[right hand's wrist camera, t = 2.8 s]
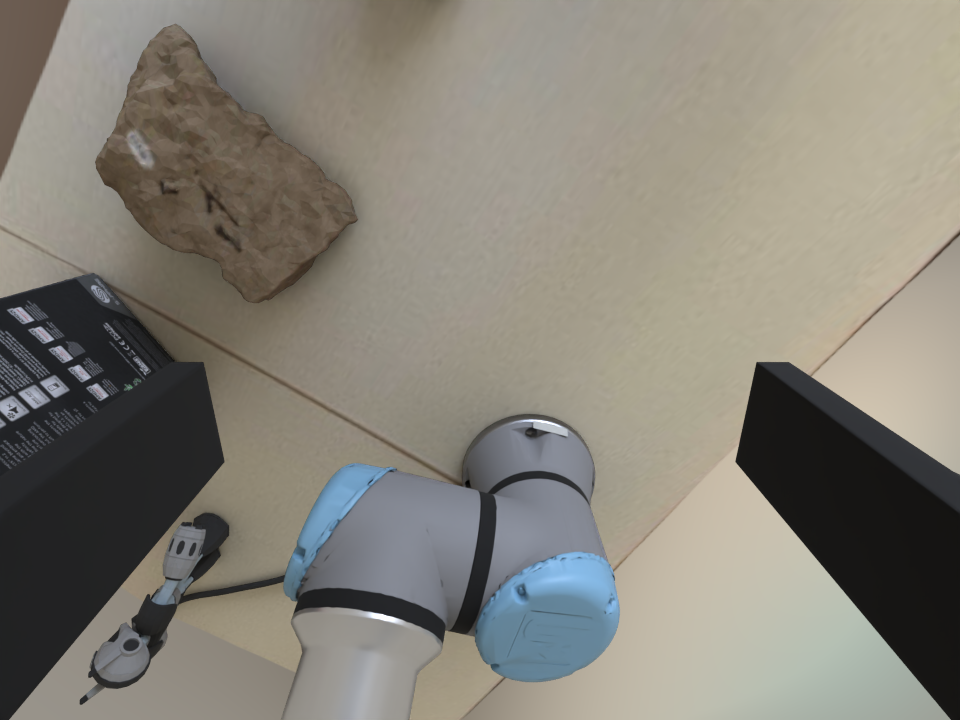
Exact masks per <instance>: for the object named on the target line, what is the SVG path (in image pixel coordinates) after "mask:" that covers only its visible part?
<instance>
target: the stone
mask: <svg viewBox="0 0 960 720" xmlns="http://www.w3.org/2000/svg"><path fill="white" fill-rule="evenodd" d="M95 163H96V169H97V171H98V173H99V174H100V176H101V178H102V180H103V182H104V184H105V185H107V186H109V187H111V188H113V189H114V190H115V191H117V192H118V194H119V195H120V197H121V198H122V199H123V201H124V203H125V206H126V208H127V209H128V210H129V211H130V212H131V214H132V215H133V217H134V218H135V220H136V221H137V222H138V223H139V224H140V225H141V226H142V227H143V229H145V230H146V231H147V232H148V233H149V234H150V235H151V236H152V237H154V238H155V239H156V240H157V241H159V242H160V243H162V244H164V245H167V246H168V247H170V248H171V249H173V250H176V251H179V252H183V253H196V254H200V255H202V256H203V257H208V258H211V259H214V260H216V261H217V262H218V263H219V264H220V266H221V268H222V276H223V278H224V279H225V280H226V281H228V282H229V283H230V284H232V285H233V286H234V287H235V288H236V289H237V290H238V291H239V292H240V293H241V294H242V296H243V298H244V299H245V300H246V301H248V302H252V303H260V302H262V301H264V300H266V299H267V300H270V299H272V298H273V297H274V296H275V295H277V294H278V293H279V292H281V291H282V290H284V289H285V288H287V287H289V286H291V285H293V284H294V283H295V282H296V281H297V280H298V279H299V278H300V277H301V276H302V275H303V274H305V273H306V272H307V271H308V270H309V268H310V267H312V264H313V262H314V260H315V258H316V257H317V255H318V254H320V253H322V252H324V251H325V250H327V249H328V247H329V245H330V243H332V242H333V241H334V240H335V239H336V238H337V237H338V235H339V233H341V232H342V231H343V230H344V228H345V227H346V226H347V225H348V224H352V223H355V222H356V221H357V220H358V219H357V217H356V215H355V212H354V207H353V205H352V200H351V198H350V197H349V196H348V194H347V192H346V191H345V190H344V189H343V188H342V187H340V186H339V185H338V184H337V183H334V182H331V181H329V180H327V179H326V178H325V175H324V172H323V171H322V170H321V169H320V168H319V167H318V165H317V164H316V163H315V162H313V161H312V160H311V159H310V158H308V157H306V156H304V155H302V154H301V153H300V152H299V151H298V150H296V149H295V148H294V147H293V146H291V145H290V144H286V143H284V142H283V140H281V139H279V138H278V137H277V135H276V134H275V133H274V132H273V130H272V129H271V128H270V126H269V125H268V124H267V122H266V120H265V119H264V117H263V116H261V115H259V114H254V113H249V112H246V111H244V110H243V109H242V107H241V106H240V105H239V104H238V103H237V102H236V101H235V100H234V99H233V98H232V97H231V95H230V94H229V93H228V92H225V91H224V90H222V89H221V88H220V87H219V86H218V85H217V83H216V77H215V75H214V74H213V72H212V71H211V69H210V68H209V67H208V66H207V65H206V63H205V62H204V61H203V60H202V58H201V56H200V52H199V50H198V48H197V45H196V43H195V41H194V40H193V39H192V37H191V36H190V35H189V34H187V33H186V32H185V31H184V30H183V29H182V28H181V27H180V26H178V25H177V24H174V25H172V26H168V27H164V28H163V29H162V30H161V31H160V32H159V33H158V34H157V35H156V36H155V38H153V39H152V40H150V42H149V44H148V46H147V48H146V49H145V50H144V51H143V53H142V55H141V57H140V59H139V62H138V65H137V69H136V71H135V72H134V74H133V75H132V76H131V78H130V82H129V84H128V89H127V97H126V99H125V101H124V104H123V108H122V110H121V112H120V113H119V116H118V119H117V123H116V127H115V129H114V131H113V133H112V134H111V136H110V137H109V138H107V142H106V143H105V145H104V147H103V149H102V150H101V152H100V154H99V155H98V156H97V159H96V162H95Z"/></svg>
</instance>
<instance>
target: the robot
mask: <svg viewBox="0 0 960 720" xmlns="http://www.w3.org/2000/svg"><path fill="white" fill-rule="evenodd" d="M191 525H192V523H190V522H186V523H185V522H183V523H182V524H181V525H180V526H179V527H178V529H177V530H176V531H175V533H174V535H173V536H172V538H171V541H170V543H169V546H168V548H167V551H166V555H165V558H164V563H163V576H165V578H166V581H165V584H164V585H162V586H161V587H160V588H159V589H157V590H156V592H155V593H154V594H153V595H152V597H151V599H150V595H149V594H148V595H147V596H146V598H145V600H144V602H143V604H142V606H141V608H140V610H139V613H138V614H137V615H136V616H134V617H133V618H132V629H131V628H130V627H129V625H128V624H127V623H124V624H121V625H120V627H119V630H118V631H117V632H116V633H115V634H114V635H113V636H112V637H111V638H110V639H109V640H108V641H107V642H104V643H103V644H102V645H101V647H100V649H99V650H98V651H96V652H95V653H94V655H93V658H92V661H91V664H90V668H91V671H90V672H89V674H88V677H89V678H91V677H92V676H93V678H94V679H95V680H96V682H97V683H98V684H97V685H96V686H95V687H94V688H93V689H92V690H90V691H89V692H88V693H87V694H86V695H85V696H83V697H82V698H81V699H80V705H82V704H83V703H85V702H86V701H87V700H89V699H90V698H91V697H93V696H94V695H96V694H97V693H98V692H100V691H101V690H102V689H104V688H105V687H106V688H112V689H118V688H123V687H127V686H129V685H131V684H133V683H135V682H137V681H138V680H139V679H140V678H141V677H142V676H143V675H144V674H145V672H146V671H147V669H148V667H149V664H150V661H151V659H152V658H153V657H154V656H155V655H156V654H157V652H158V651H159V650H160V649H161V648H162V647H163V646H164V645H165V643H166V640H167V631H166V628H167V626H168V624H169V622H170V621H171V619H172V617H173V616H174V614H175V611H176V608H177V606H178V605H179V604H180V602H181V600H182V599H183V595H184V593H185V591H186V589H187V588H188V587H189V586H190V585H191V583H193V582H194V581H196V580H197V579H199V578H200V577H201V576H203V575H204V574H205V573H206V572H207V571H208V570H209V569H210V568H211V567H212V566H213V565H214V563H215V562H216V561H217V559H218V558H219V557H220V556H221V555H220V552H219V550H218V547H219V546H220V545H221V544H222V543H223V542H224V541H225V539H226V538H227V537H228V536H229V526H228V525H227V524H226V523H225V522H224V521H223V520H222V519H221V518H220V517H218V516H216V515H214V514H207V513H204V514H202V515H200V516H198V517H196V518H194V522H193V526H191Z"/></svg>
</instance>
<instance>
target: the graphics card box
mask: <svg viewBox="0 0 960 720" xmlns="http://www.w3.org/2000/svg"><path fill="white" fill-rule="evenodd" d="M171 362H174V360H173V359H172V358H171V357H170V356H169V355H168V354H167V353H166V352H165V350H164V349H163V348H162V347H161V346H160V345H159V344H158V342H157V341H156V340H155V339H154V338H153V337H152V336H151V335H150V333H149V332H148V331H147V330H146V329H145V328H144V327H143V325H142V324H141V323H140V322H139V321H138V320H137V319H136V318H135V317H134V315H133V314H132V313H131V312H130V311H129V310H128V308H127V307H126V306H125V305H124V304H123V303H122V302H121V301H120V300H119V298H118V297H117V296H116V295H115V294H114V293H113V291H112V290H111V289H110V288H109V287H108V286H107V285H106V284H105V283H104V282H103V280H102V279H101V278H100V277H99V276H98V275H96V274H94V273H91V274H87V275H83V276H80V277H75V278H73V279H68V280H64V281H62V282H57V283H54V284H51V285H47V286H43V287H40V288H36V289H32V290H29V291H25V292H21V293H18V294H14V295H11V296H7V297H3V298H0V476H1V475H3V474H4V473H6V472H7V471H9V470H10V469H12V468H13V467H15V466H16V465H18V464H19V463H21V462H22V461H24V460H25V459H27V458H28V457H30V456H31V455H33V454H34V453H36V452H37V451H39V450H40V449H42V448H43V447H45V446H46V445H48V444H49V443H51V442H52V441H54V440H55V439H57V438H58V437H60V436H61V435H63V434H64V433H66V432H67V431H69V430H70V429H72V428H73V427H75V426H76V425H78V424H79V423H81V422H82V421H84V420H85V419H87V418H88V417H90V416H91V415H93V414H94V413H96V412H97V411H99V410H100V409H102V408H103V407H105V406H106V405H108V404H109V403H111V402H112V401H114V400H115V399H117V398H118V397H120V396H121V395H123V394H124V393H126V392H127V391H129V390H130V389H132V388H133V387H135V386H136V385H138V384H139V383H141V382H142V381H144V380H145V379H147V378H148V377H150V376H151V375H153V374H154V373H156V372H157V371H159V370H160V369H162V368H163V367H165V366H166V365H168V364H169V363H171Z"/></svg>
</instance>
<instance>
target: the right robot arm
mask: <svg viewBox="0 0 960 720" xmlns="http://www.w3.org/2000/svg"><path fill="white" fill-rule="evenodd" d="M223 463H224V457H223V452H222V447H221V443H220V438H219V433H218V429H217V424H216V419H215V414H214V410H213V405H212V400H211V396H210V391H209V386H208V382H207V377H206V372H205V367H204V363H203V362H171V363H169V364H168V365H166V366H165V367H163V368H162V369H160V370H159V371H157V372H156V373H154V374H153V375H151V376H150V377H148V378H147V379H145V380H144V381H142V382H141V383H139V384H138V385H136V386H135V387H133V388H132V389H130V390H129V391H127V392H126V393H124V394H123V395H121V396H120V397H118V398H117V399H115V400H114V401H112V402H111V403H109V404H108V405H106V406H105V407H103V408H102V409H100V410H99V411H97V412H96V413H94V414H93V415H91V416H90V417H88V418H87V419H85V420H84V421H82V422H81V423H79V424H78V425H76V426H75V427H73V428H72V429H70V430H69V431H67V432H66V433H64V434H63V435H61V436H60V437H58V438H57V439H55V440H54V441H52V442H51V443H49V444H48V445H46V446H45V447H43V448H42V449H40V450H39V451H37V452H36V453H34V454H33V455H31V456H30V457H28V458H27V459H25V460H24V461H22V462H21V463H19V464H18V465H16V466H15V467H13V468H12V469H10V470H9V471H7V472H6V473H4V474H3V475H1V476H0V720H9V719H10V718H11V717H12V715H13V714H14V713H15V712H16V711H17V709H18V708H19V707H20V706H21V705H22V704H23V702H24V701H25V700H26V699H27V698H28V696H29V695H30V694H31V693H32V692H33V690H34V689H35V688H36V687H37V686H38V684H39V683H40V682H41V681H42V680H43V678H44V677H45V676H46V675H47V674H48V672H49V671H50V670H51V669H52V668H53V666H54V665H55V664H56V663H57V662H58V660H59V659H60V658H61V657H62V656H63V655H64V653H65V652H66V651H67V650H68V648H69V647H70V646H71V645H72V644H73V643H74V641H75V640H76V639H77V638H78V637H79V635H80V634H81V633H82V632H83V631H84V629H85V628H86V627H87V626H88V625H89V623H90V622H91V621H92V620H93V619H94V617H95V616H96V615H97V614H98V613H99V611H100V610H101V609H102V608H103V607H104V605H105V604H106V603H107V602H108V601H109V599H110V598H111V597H112V596H113V595H114V593H115V592H116V591H117V590H118V589H119V588H120V586H121V585H122V584H123V583H124V582H125V580H126V579H127V578H128V577H129V576H130V574H131V573H132V572H133V571H134V570H135V568H136V567H137V566H138V565H139V564H140V562H141V561H142V560H143V559H144V558H145V556H146V555H147V554H148V553H149V552H150V550H151V549H152V548H153V547H154V546H155V544H156V543H157V542H158V541H159V540H160V538H161V537H162V536H163V535H164V534H165V532H166V531H167V530H168V529H169V528H170V527H171V525H172V524H173V523H174V522H175V521H176V519H177V518H178V517H179V516H180V515H181V513H182V512H183V511H184V510H185V509H186V507H187V506H188V505H189V504H190V503H191V501H192V500H193V499H194V498H195V497H196V495H197V494H198V493H199V492H200V491H201V489H202V488H203V487H204V486H205V485H206V483H207V482H208V481H209V480H210V479H211V477H212V476H213V475H214V474H215V473H216V471H217V470H218V469H219V468H220V467H221V465H222V464H223ZM736 463H737V464H738V465H739V467H740V468H741V469H742V470H743V471H744V473H745V474H746V475H747V476H748V477H749V479H750V480H751V481H752V482H753V483H754V485H755V486H756V487H757V488H758V489H759V491H760V492H761V493H762V494H763V495H764V497H765V498H766V499H767V500H768V501H769V503H770V504H771V505H772V506H773V507H774V509H775V510H776V511H777V512H778V513H779V515H780V516H781V517H782V518H783V519H784V521H785V522H786V523H787V524H788V525H789V526H790V528H791V529H792V530H793V531H794V532H795V534H796V535H797V536H798V537H799V538H800V540H801V541H802V542H803V543H804V544H805V546H806V547H807V548H808V549H809V550H810V552H811V553H812V554H813V555H814V556H815V558H816V559H817V560H818V561H819V562H820V564H821V565H822V566H823V567H824V568H825V570H826V571H827V572H828V573H829V574H830V576H831V577H832V578H833V579H834V580H835V582H836V583H837V584H838V585H839V586H840V588H841V589H842V590H843V591H844V592H845V594H846V595H847V596H848V597H849V598H850V599H851V601H852V602H853V603H854V604H855V605H856V607H857V608H858V609H859V610H860V611H861V613H862V614H863V615H864V616H865V617H866V619H867V620H868V621H869V622H870V623H871V624H872V626H873V627H874V628H875V629H876V631H877V632H878V633H879V634H880V635H881V637H882V638H883V639H884V640H885V641H886V642H887V644H888V645H889V646H890V647H891V649H892V650H893V651H894V652H895V653H896V654H897V656H898V657H899V658H900V659H901V660H902V662H903V663H904V664H905V665H906V666H907V668H908V669H909V670H910V671H911V672H912V674H913V675H914V676H915V677H916V678H917V680H918V681H919V682H920V683H921V684H922V686H923V687H924V688H925V689H926V690H927V692H928V693H929V694H930V695H931V696H932V698H933V699H934V700H935V701H936V702H937V704H938V705H939V706H940V707H941V708H942V710H943V711H944V712H945V713H946V714H947V716H948V717H949V718H950V719H951V720H960V475H959V474H957V473H955V472H953V471H951V470H950V469H948V468H947V467H945V466H944V465H942V464H941V463H939V462H938V461H936V460H935V459H933V458H932V457H930V456H929V455H927V454H926V453H924V452H923V451H921V450H920V449H918V448H917V447H915V446H914V445H912V444H911V443H909V442H908V441H906V440H905V439H903V438H902V437H900V436H899V435H897V434H896V433H894V432H893V431H891V430H890V429H888V428H887V427H885V426H884V425H882V424H881V423H879V422H878V421H876V420H875V419H873V418H872V417H870V416H869V415H867V414H866V413H864V412H863V411H861V410H860V409H858V408H857V407H855V406H854V405H852V404H851V403H849V402H848V401H846V400H845V399H843V398H842V397H840V396H839V395H837V394H836V393H834V392H833V391H831V390H830V389H828V388H827V387H825V386H824V385H822V384H821V383H819V382H818V381H816V380H815V379H813V378H812V377H810V376H809V375H807V374H806V373H804V372H803V371H801V370H800V369H798V368H797V367H795V366H794V365H792V364H791V363H789V362H757V363H756V367H755V372H754V377H753V382H752V386H751V391H750V396H749V400H748V405H747V410H746V414H745V419H744V424H743V429H742V433H741V438H740V443H739V447H738V452H737V457H736ZM462 483H463V487H462V486H458V485H454V484H450V483H446V482H441V481H437V480H433V479H429V478H425V477H421V476H417V475H413V474H409V473H405V472H401V471H397V469H396V468H393V467H388V468H380V467H375V466H370V465H365V464H359V463H353V464H349V465H346V466H345V467H342V468H341V469H340V470H339V471H338V472H336V473H335V474H334V475H333V476H332V477H331V479H330V480H329V481H328V483H327V484H326V486H325V487H324V489H323V490H322V492H321V493H320V495H319V497H318V499H317V500H316V502H315V504H314V506H313V508H312V510H311V512H310V514H309V516H308V518H307V520H306V522H305V524H304V526H303V528H302V531H301V533H300V535H299V538H298V540H297V547H296V548H295V550H294V552H293V555H292V557H291V559H290V561H289V564H288V567H287V570H286V574H285V575H284V576H281V577H277V578H273V579H269V580H265V581H260V582H255V583H249V584H244V585H239V586H234V587H229V588H224V589H218V590H211V591H205V592H198V593H194V594H190V595H186V596H183V599H182V600H181V602H180V603H183V602H186V601H189V600H193V599H198V598H204V597H211V596H218V595H224V594H229V593H234V592H239V591H244V590H249V589H255V588H260V587H265V586H269V585H273V584H277V583H281V582H284V586H283V588H284V592H285V595H286V596H288V597H290V599H291V600H292V601H297V605H296V608H295V611H294V614H293V617H292V620H291V625H292V627H293V629H294V631H295V633H296V635H297V637H298V640H299V642H300V644H301V648H302V655H301V658H300V662H299V665H298V668H297V671H296V674H295V677H294V680H293V683H292V687H291V690H290V693H289V696H288V699H287V702H286V705H285V708H284V711H283V715H282V718H281V720H409V718H410V713H411V707H412V702H413V696H414V691H415V685H416V680H417V675H418V673H419V672H420V670H422V669H423V668H424V667H425V666H426V665H428V664H429V663H430V662H431V661H432V660H434V659H435V658H436V657H437V656H438V655H439V654H440V653H441V651H442V647H443V641H444V634H445V630H447V631H451V632H456V633H460V634H465V635H469V636H474V637H475V642H476V646H477V647H478V651H479V653H480V655H481V657H482V659H483V661H484V662H485V663H486V664H490V665H491V668H492V670H493V671H494V672H496V673H497V674H499V675H501V676H503V677H506V678H509V679H512V680H517V681H522V682H543V681H550V680H555V679H559V678H562V677H565V676H568V675H571V674H572V673H573V672H575V671H577V670H579V669H581V668H584V667H586V666H587V665H589V664H590V663H592V662H593V661H594V660H596V659H597V658H598V657H599V656H600V655H601V654H602V653H603V652H604V651H605V649H606V648H607V647H608V645H609V644H610V643H611V641H612V639H613V637H614V635H615V633H616V630H617V627H618V623H619V616H620V608H619V601H618V596H617V592H616V587H615V582H614V581H615V577H614V573H613V570H612V568H611V566H610V564H609V563H608V560H607V557H606V554H605V551H604V548H603V544H602V541H601V538H600V535H599V532H598V529H597V526H596V523H595V520H594V517H593V513H592V511H591V508H590V501H591V496H592V493H593V490H594V484H595V468H594V463H593V460H592V457H591V454H590V451H589V449H588V447H587V445H586V443H585V442H584V440H583V439H582V437H581V436H580V435H579V434H578V433H577V432H576V431H575V430H574V429H573V428H571V427H570V426H568V425H567V424H565V423H563V422H562V421H559V420H557V419H555V418H551V417H548V416H544V415H536V414H523V415H516V416H511V417H508V418H505V419H502V420H500V421H497V422H495V423H493V424H492V425H490V426H489V427H487V428H486V429H484V430H483V431H482V432H481V433H480V434H479V435H478V436H477V437H476V438H475V439H474V440H473V442H472V443H471V445H470V447H469V448H468V450H467V453H466V455H465V459H464V463H463V475H462Z"/></svg>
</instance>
